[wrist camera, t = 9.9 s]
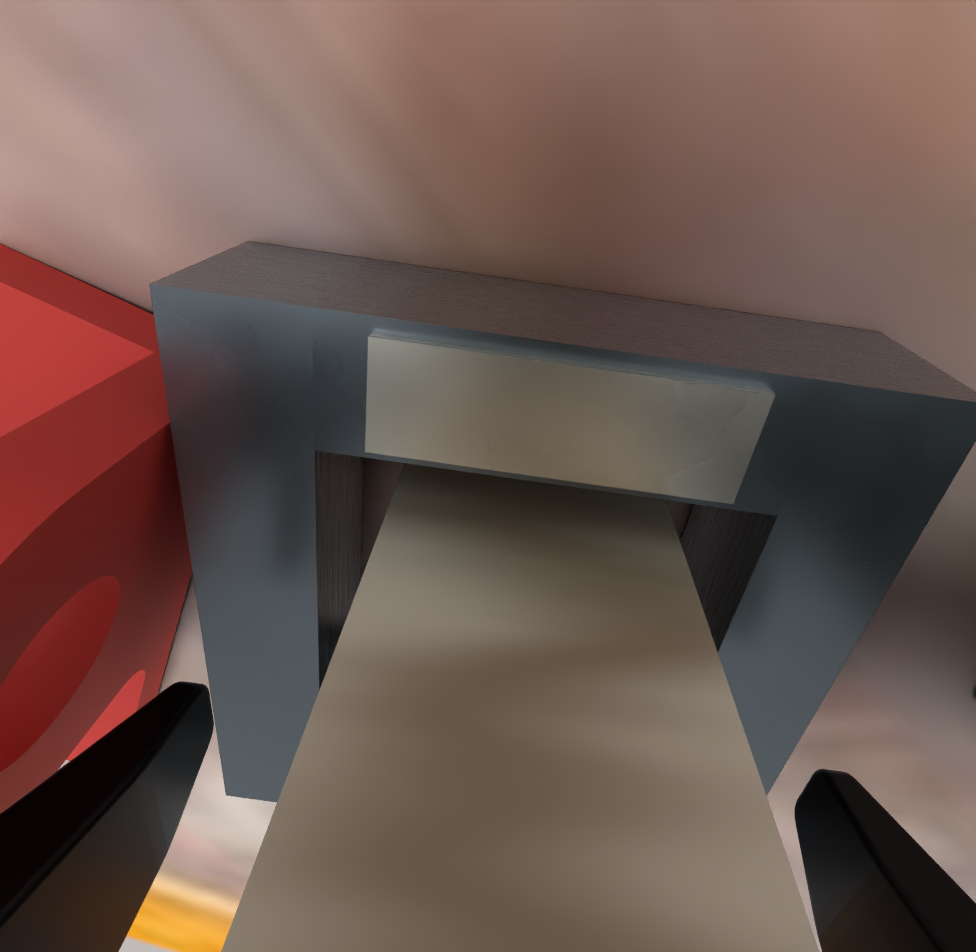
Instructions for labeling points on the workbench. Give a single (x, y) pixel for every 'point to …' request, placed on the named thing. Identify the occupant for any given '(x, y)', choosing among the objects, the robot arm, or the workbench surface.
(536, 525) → the birch peg
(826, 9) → the workbench surface
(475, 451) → the plate
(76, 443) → the bracket
